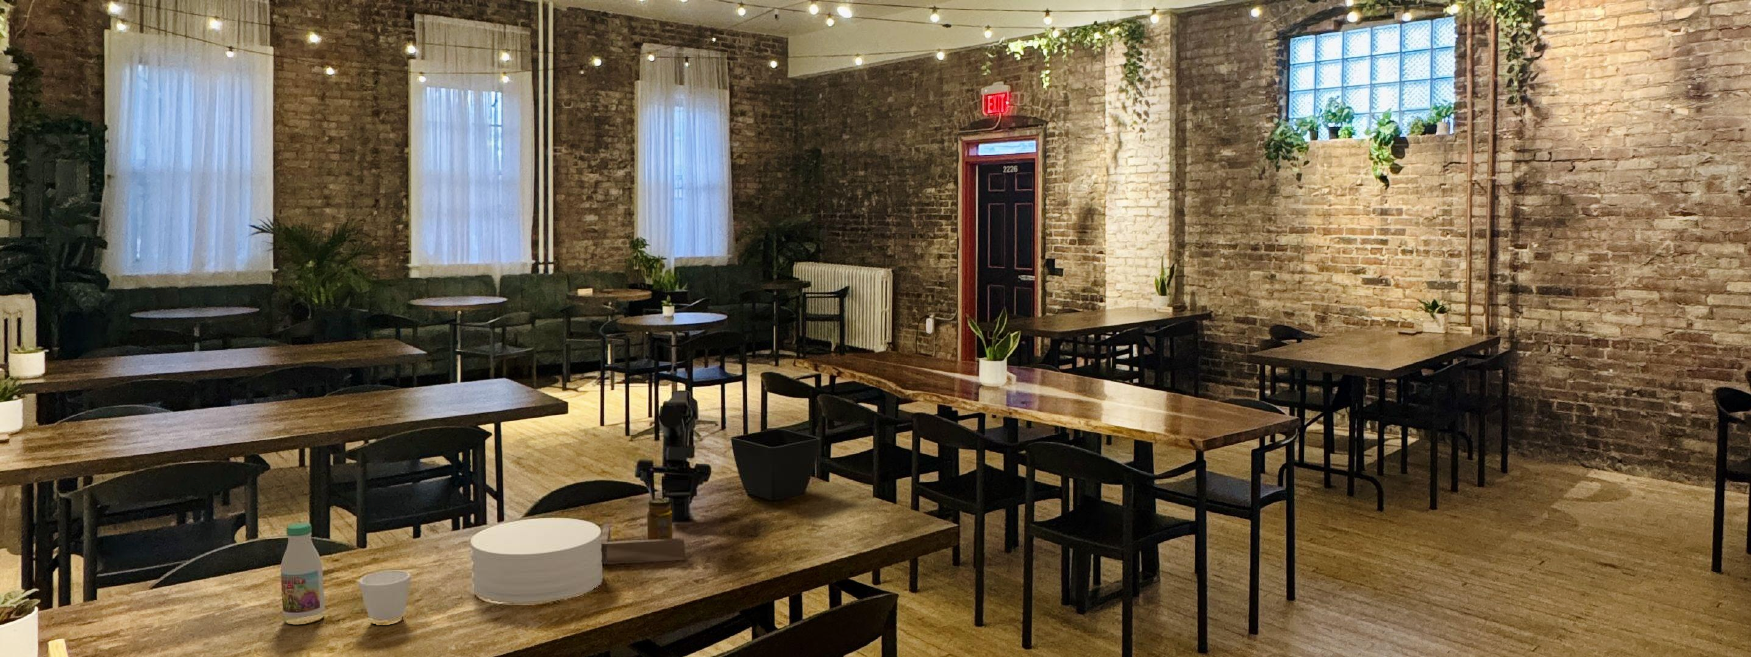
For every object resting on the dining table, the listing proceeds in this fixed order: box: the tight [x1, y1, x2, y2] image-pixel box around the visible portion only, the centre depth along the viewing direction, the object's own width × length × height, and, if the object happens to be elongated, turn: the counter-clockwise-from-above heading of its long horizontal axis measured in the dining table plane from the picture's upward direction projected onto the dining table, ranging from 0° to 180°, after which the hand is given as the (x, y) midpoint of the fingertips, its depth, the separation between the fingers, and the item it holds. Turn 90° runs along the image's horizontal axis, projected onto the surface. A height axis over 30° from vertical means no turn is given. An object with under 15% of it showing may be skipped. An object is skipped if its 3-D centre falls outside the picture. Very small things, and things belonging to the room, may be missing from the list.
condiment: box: [646, 497, 673, 540], centre depth 288 cm, size 7×8×12 cm
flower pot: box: [730, 428, 821, 502], centre depth 342 cm, size 19×19×17 cm
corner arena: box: [601, 523, 685, 565], centre depth 288 cm, size 18×20×5 cm
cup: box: [358, 569, 412, 621], centre depth 242 cm, size 10×10×9 cm
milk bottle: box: [280, 522, 326, 618], centre depth 242 cm, size 8×8×20 cm
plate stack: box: [470, 517, 604, 604], centre depth 264 cm, size 28×28×12 cm
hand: (672, 502), depth 297 cm, fingers open, 9 cm apart
